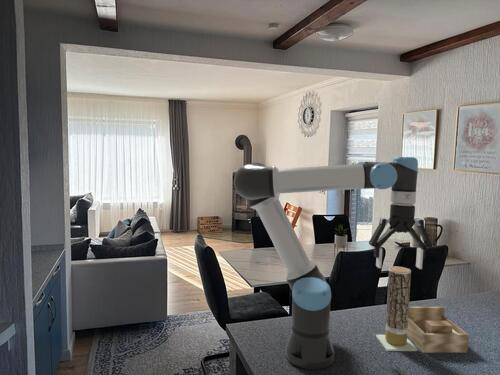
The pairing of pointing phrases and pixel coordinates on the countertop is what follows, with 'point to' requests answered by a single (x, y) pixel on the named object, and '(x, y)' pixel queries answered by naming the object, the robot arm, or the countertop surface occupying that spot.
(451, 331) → the offcut stack
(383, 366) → the countertop surface
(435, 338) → the wooden open box
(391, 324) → the wooden log
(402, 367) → the countertop surface
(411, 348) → the felt mat
